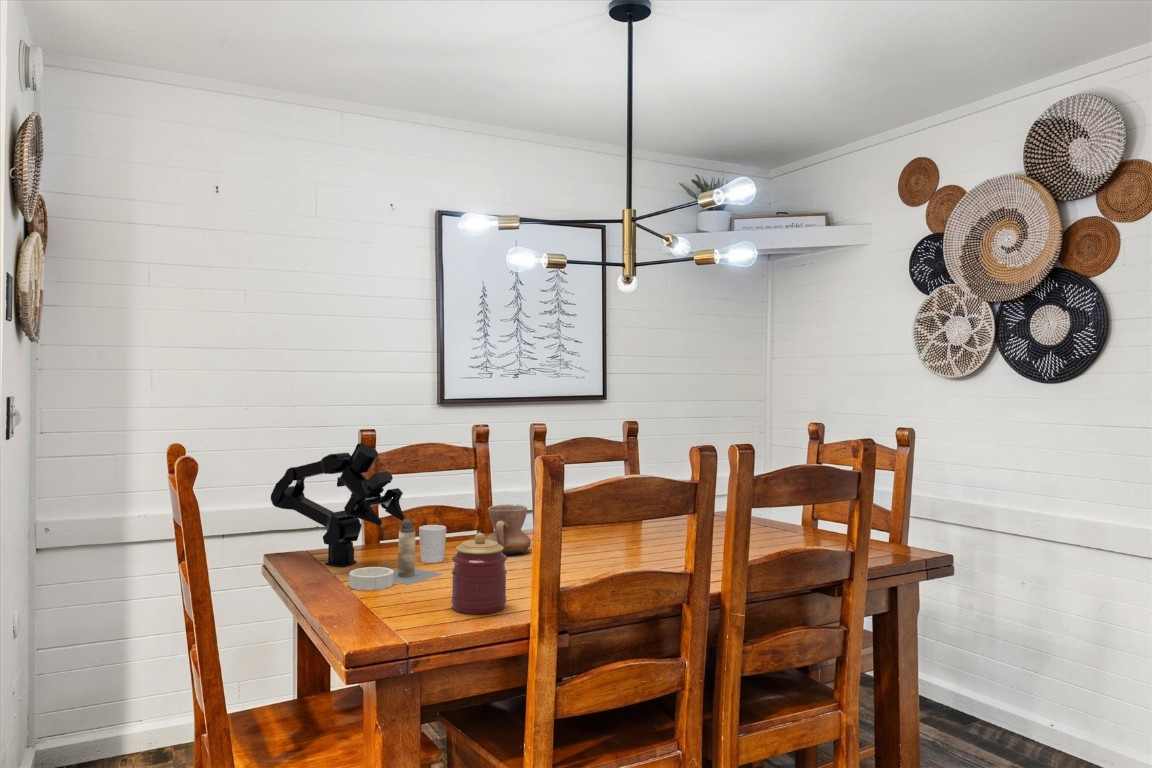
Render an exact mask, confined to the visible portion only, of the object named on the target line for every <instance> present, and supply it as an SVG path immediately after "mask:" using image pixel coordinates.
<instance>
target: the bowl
mask: <svg viewBox="0 0 1152 768" xmlns="http://www.w3.org/2000/svg"><path fill="white" fill-rule="evenodd" d="M394 570H395V569H391V568H389V567H382V566H367V567H359V568H355V569H352V570H350V571H349V572H348V586H349V589H352V590H356V591H367V592H368V591H379V590H386V589H389V588H391V587H392V586H393V585H394V582H393V576H394Z"/></svg>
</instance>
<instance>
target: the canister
mask: <svg viewBox="0 0 1152 768" xmlns="http://www.w3.org/2000/svg"><path fill="white" fill-rule="evenodd" d="M473 538H474V539H468V540H465V541H462V542H461V544H459V545H457V546H455V550H456V551H457V552H456V553H455V554H454V555H453V556H452V558H451V559H452V561H453V562H454V563H453V569H452V571H451V575H452V583H451V584H452V589H451V590H452V591H451V601H450V602H451V607H452V609H453V610H454V611H456V612H459V613H463V614H470V615H484V614H491V613H498V612H500V611H502V610H504V609H505V607H506V603H507V595H506V592H507V591H506V588H507V586H506V585H507V572H508V571H507V569H506V566H505V563H506V561H507V559H508V557H507V554H503V553H502V550H503V549H504V547H503V546H501V545H500V544H498V542H496V541H493V540H486V538H487V537H486V535H485V534H484V533H482V532H477V533H476V534H475V535H474V537H473Z"/></svg>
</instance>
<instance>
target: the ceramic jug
mask: <svg viewBox="0 0 1152 768" xmlns="http://www.w3.org/2000/svg"><path fill="white" fill-rule="evenodd" d="M487 512H488V517H489V520H490V521H491V524H492V527H493V529H494V531H493V532H492V533H490V534H489V535H488V536H486V537H485V538H486V540H493V541H496V542H498V544H500V545H501V546H503V547H504V549H503V550H502V553H503V554H504V555H515V554H516V553H517V554H522V553H524V552H525V551H527V550H528V549H529V548H530V546H531V545H532V544H531V543H532V542H531V537H530V536H529V535H527V533H525V532H524V531H522V529H523V526H524V524H525V520H526V517H527V513H528V506H526V505H522V504H512V503H510V504H509V503H507V504H506V503H505V504H503V503H502V504H495V505H491V506H489V507H488V508H487Z"/></svg>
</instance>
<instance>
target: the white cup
mask: <svg viewBox="0 0 1152 768" xmlns="http://www.w3.org/2000/svg"><path fill="white" fill-rule="evenodd" d="M418 532H419V533H418V534H419V536H418V538H419V540H418V541H419V554H420V562H422V563H427V564H429V563H430V564H435V563H440V562H443V561H445V560H444V559H445V551H446V538H447V537H446V536H447V526H445V525H440V524H427V525H422V526H419V528H418Z"/></svg>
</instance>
